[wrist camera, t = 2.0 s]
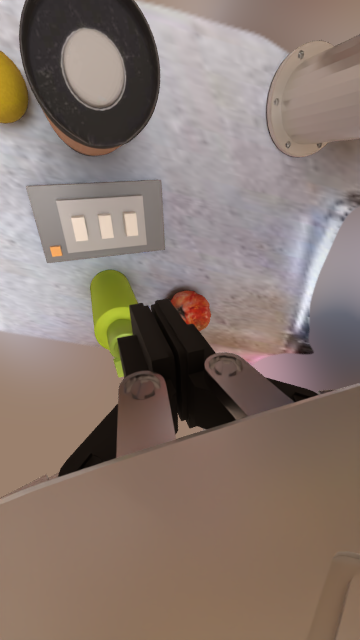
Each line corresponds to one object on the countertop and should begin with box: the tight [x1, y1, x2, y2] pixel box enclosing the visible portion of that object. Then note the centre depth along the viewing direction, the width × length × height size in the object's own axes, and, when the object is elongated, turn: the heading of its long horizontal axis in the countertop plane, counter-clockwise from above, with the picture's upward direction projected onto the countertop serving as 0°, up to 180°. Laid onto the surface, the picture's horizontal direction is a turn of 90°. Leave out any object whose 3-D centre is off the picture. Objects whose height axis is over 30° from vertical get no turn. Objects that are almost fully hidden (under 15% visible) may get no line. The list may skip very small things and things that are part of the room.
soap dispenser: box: [90, 270, 138, 377], centre depth 34 cm, size 6×7×20 cm
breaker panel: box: [26, 180, 165, 263], centre depth 35 cm, size 16×9×6 cm, turn 92°
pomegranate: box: [171, 291, 211, 331], centre depth 45 cm, size 7×7×10 cm
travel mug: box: [19, 0, 160, 156], centre depth 23 cm, size 8×8×20 cm
